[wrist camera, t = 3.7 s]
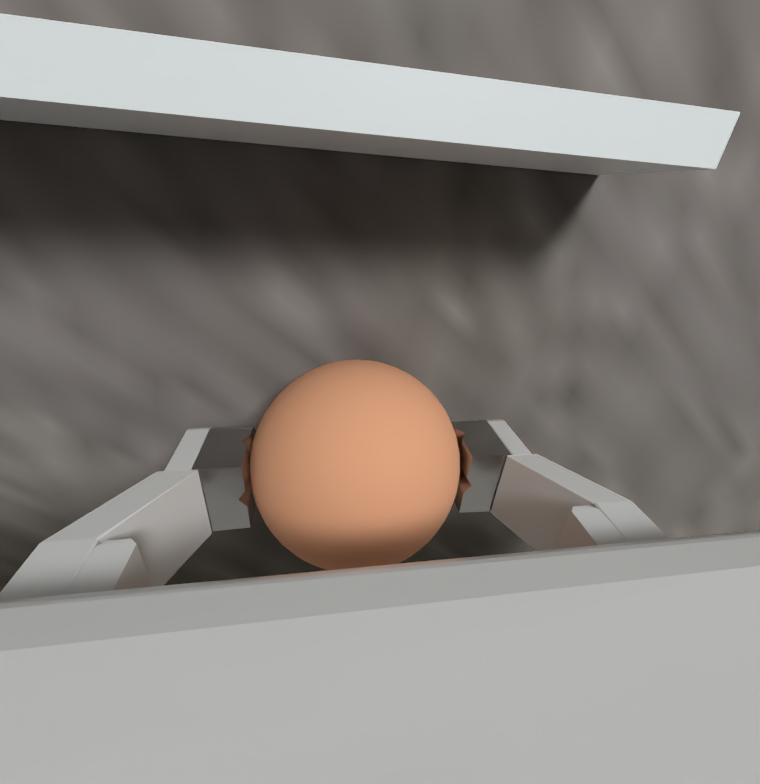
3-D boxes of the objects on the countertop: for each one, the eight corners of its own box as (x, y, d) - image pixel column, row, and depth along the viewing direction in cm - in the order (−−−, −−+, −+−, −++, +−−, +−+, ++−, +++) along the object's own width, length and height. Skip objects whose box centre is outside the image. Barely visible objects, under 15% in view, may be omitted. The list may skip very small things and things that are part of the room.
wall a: (612, 136, 9) (741, 111, 6) (600, 175, 9) (715, 168, 6) (-408, 20, 6) (-1027, -124, 3) (-360, 86, 6) (-874, 7, 3)
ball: (439, 331, 10) (525, 433, 6) (419, 467, 13) (470, 610, 8) (257, 329, 10) (205, 443, 5) (272, 474, 12) (244, 635, 8)
